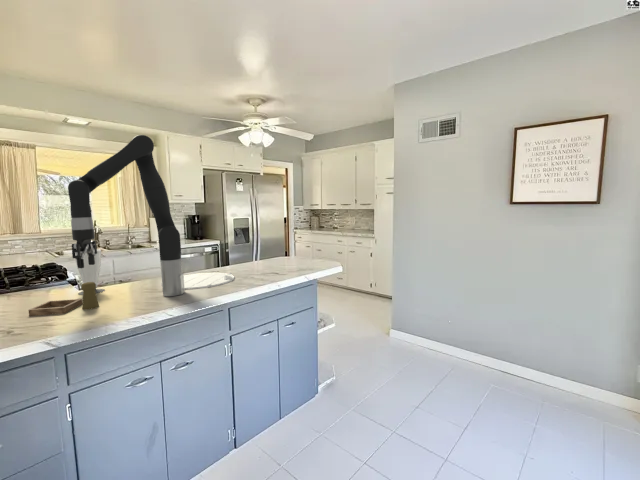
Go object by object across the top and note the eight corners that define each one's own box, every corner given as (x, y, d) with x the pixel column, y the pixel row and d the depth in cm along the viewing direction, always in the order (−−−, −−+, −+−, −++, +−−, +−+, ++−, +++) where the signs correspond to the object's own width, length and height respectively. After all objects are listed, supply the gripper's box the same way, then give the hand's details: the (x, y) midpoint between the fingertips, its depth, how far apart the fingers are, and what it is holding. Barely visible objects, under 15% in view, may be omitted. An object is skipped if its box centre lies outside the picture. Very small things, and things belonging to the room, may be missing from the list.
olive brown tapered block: (96, 304, 145) (94, 280, 144) (101, 306, 141) (98, 281, 140) (80, 308, 141) (77, 282, 139) (84, 310, 137) (82, 284, 136)
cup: (91, 295, 161) (86, 252, 159) (72, 294, 164) (67, 252, 162) (110, 289, 173) (106, 249, 170) (92, 289, 175) (88, 249, 173)
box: (82, 304, 146) (82, 298, 146) (64, 313, 134) (64, 307, 133) (50, 306, 144) (49, 300, 144) (29, 315, 131) (28, 309, 131)
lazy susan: (244, 274, 205) (244, 268, 205) (219, 289, 167) (219, 283, 166) (184, 274, 209) (183, 269, 209) (146, 290, 171) (145, 283, 170)
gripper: (83, 229, 131) (87, 268, 133) (101, 227, 145) (104, 263, 147) (62, 229, 130) (66, 270, 132) (82, 227, 144) (86, 264, 146)
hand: (86, 266), depth 139 cm, fingers open, 8 cm apart
